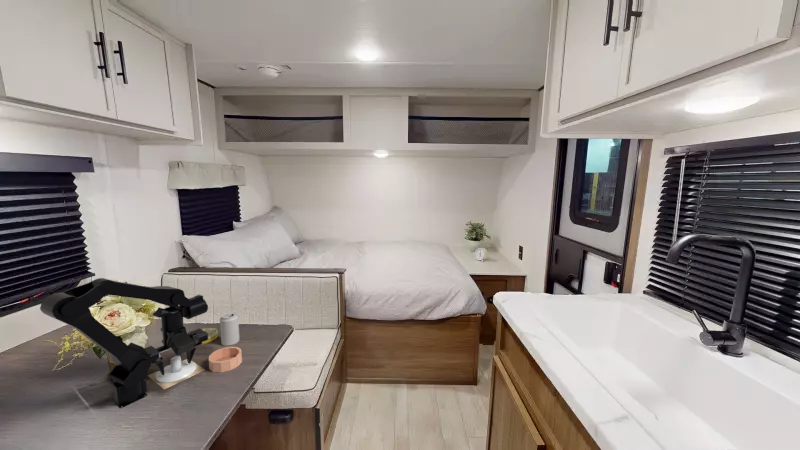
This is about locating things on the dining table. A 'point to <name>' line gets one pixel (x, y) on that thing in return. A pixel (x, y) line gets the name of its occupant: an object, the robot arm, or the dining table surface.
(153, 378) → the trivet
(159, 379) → the lid
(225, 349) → the bowl
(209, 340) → the decorated donut
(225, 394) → the dining table surface
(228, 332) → the beverage can
